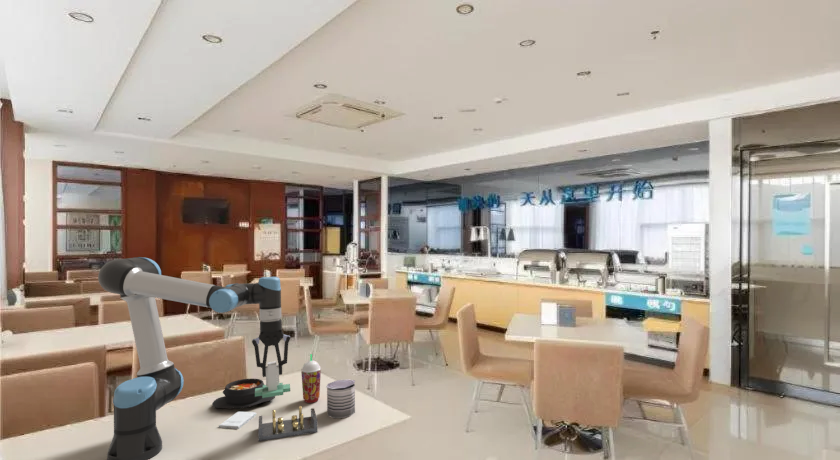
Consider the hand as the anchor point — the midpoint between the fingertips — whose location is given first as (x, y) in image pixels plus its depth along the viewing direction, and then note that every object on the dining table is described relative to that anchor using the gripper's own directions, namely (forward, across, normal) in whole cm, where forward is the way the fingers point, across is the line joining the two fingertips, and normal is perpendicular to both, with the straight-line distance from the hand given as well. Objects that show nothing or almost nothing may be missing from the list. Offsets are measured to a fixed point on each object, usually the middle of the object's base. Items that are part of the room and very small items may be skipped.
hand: (272, 384), depth 156 cm
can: (+18, +26, +10) cm, 33 cm away
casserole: (+17, -12, +33) cm, 39 cm away
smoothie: (+18, +15, +27) cm, 36 cm away
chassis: (+18, +5, 0) cm, 18 cm away
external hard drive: (+18, -13, +16) cm, 27 cm away
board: (+3, 0, 0) cm, 3 cm away
